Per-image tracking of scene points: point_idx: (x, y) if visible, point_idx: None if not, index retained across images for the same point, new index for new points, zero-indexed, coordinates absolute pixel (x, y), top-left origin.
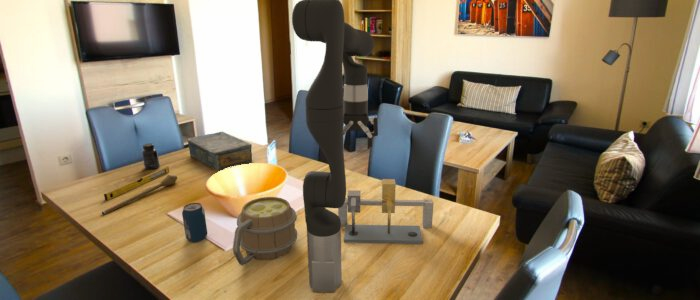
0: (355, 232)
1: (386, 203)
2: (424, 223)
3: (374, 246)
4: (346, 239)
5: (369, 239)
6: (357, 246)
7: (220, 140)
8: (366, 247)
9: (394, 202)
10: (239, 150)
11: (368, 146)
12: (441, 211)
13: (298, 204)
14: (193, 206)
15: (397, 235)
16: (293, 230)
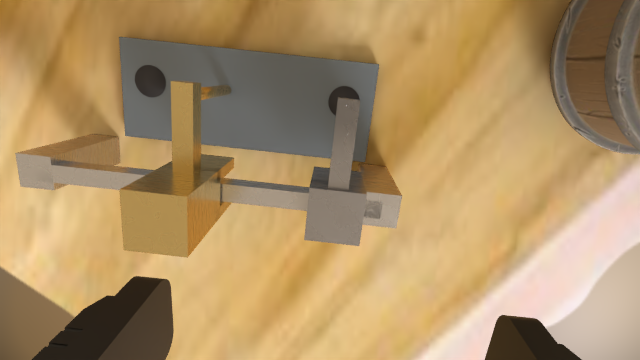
0: (336, 106)
1: (204, 165)
2: (105, 139)
3: (280, 33)
4: (370, 63)
5: (293, 58)
6: (335, 37)
7: None
8: (306, 29)
9: (170, 163)
10: None
11: (135, 293)
12: (57, 233)
13: (501, 314)
14: None
15: (199, 78)
16: (596, 18)
